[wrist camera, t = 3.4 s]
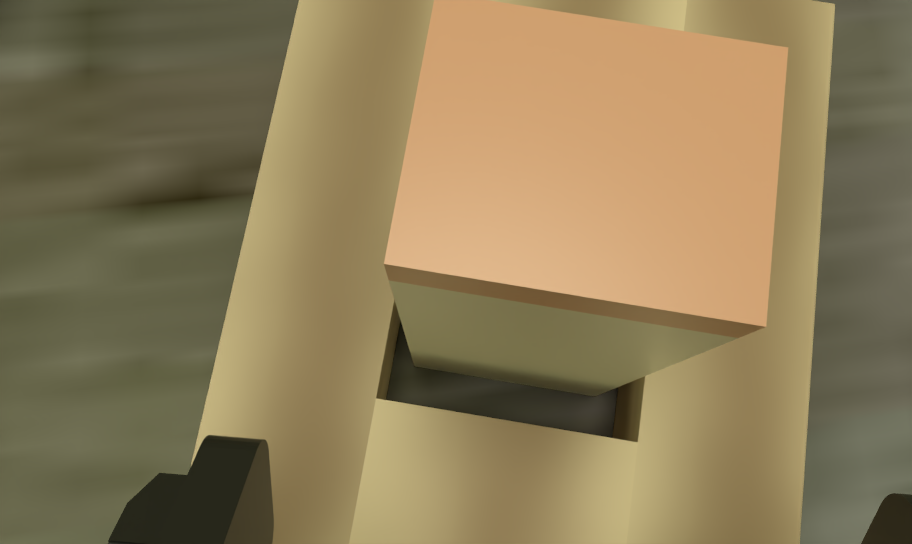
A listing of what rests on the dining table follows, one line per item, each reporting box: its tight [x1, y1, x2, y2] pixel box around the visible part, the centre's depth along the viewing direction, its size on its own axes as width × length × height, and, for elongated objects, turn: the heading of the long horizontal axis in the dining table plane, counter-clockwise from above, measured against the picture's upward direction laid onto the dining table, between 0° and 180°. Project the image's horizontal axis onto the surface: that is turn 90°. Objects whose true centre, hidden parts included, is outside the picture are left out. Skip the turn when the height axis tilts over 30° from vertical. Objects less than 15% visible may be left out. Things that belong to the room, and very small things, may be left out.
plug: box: [384, 0, 788, 396], centre depth 17 cm, size 5×4×12 cm
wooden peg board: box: [190, 0, 835, 544], centre depth 21 cm, size 14×18×3 cm
